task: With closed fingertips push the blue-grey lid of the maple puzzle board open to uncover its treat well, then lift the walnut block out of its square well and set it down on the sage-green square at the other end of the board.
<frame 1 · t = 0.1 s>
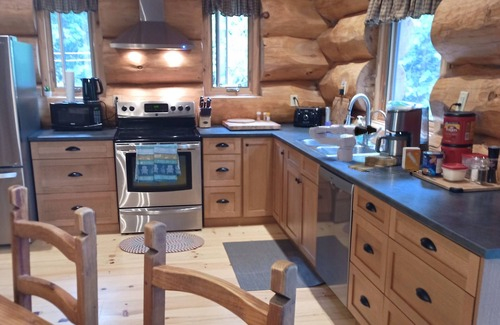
hand: (371, 131, 253), 22 cm above the countertop, tool horizontal, fingers open, 7 cm apart
puzzle board: (372, 167, 259), on the countertop
lid: (381, 155, 261), point 6 cm above the countertop, slide at 0.0 cm
walnut block: (369, 168, 258), resting in puzzle board
small box: (410, 171, 250), on the countertop
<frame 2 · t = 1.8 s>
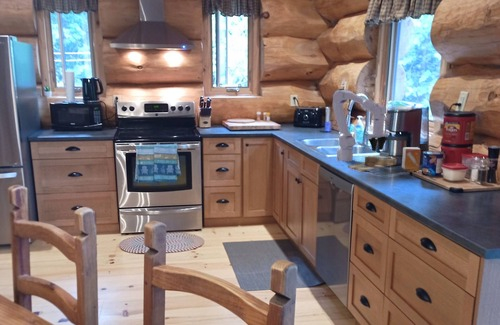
hand: (377, 150, 259), 10 cm above the countertop, tool pointing down, fingers open, 5 cm apart
nothing on the countertop moved.
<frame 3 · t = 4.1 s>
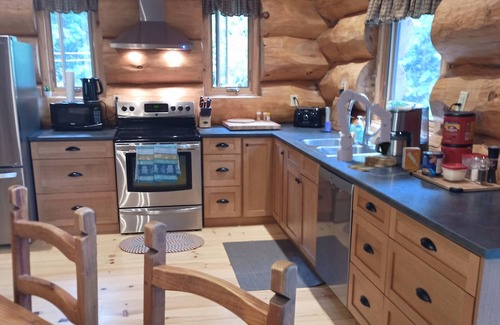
hand: (384, 155, 262), 6 cm above the countertop, tool pointing down, fingers closed
lid: (383, 155, 262), point 6 cm above the countertop, slide at 1.5 cm, touching gripper
everything else where it was.
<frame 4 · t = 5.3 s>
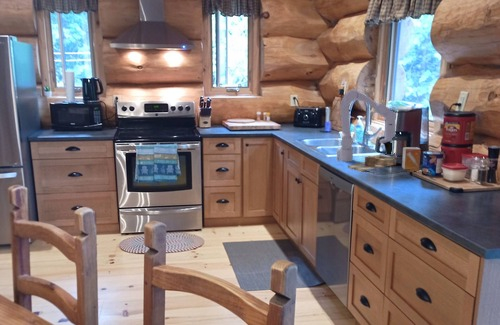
hand: (388, 154, 264), 6 cm above the countertop, tool pointing down, fingers closed
lid: (388, 154, 264), point 6 cm above the countertop, slide at 5.5 cm, touching gripper
everything else where it was.
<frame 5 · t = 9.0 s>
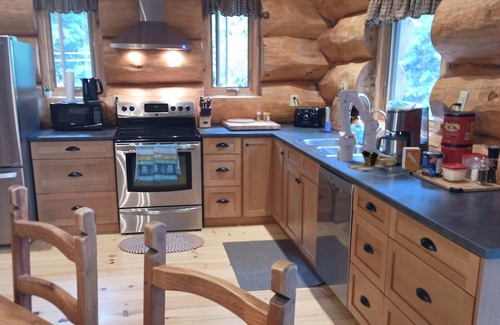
hand: (369, 164, 257), 2 cm above the countertop, tool pointing down, fingers closed on walnut block, 4 cm apart
lid: (388, 154, 264), point 6 cm above the countertop, slide at 5.5 cm
walnut block: (369, 168, 258), resting in puzzle board, touching gripper
everything else where it was.
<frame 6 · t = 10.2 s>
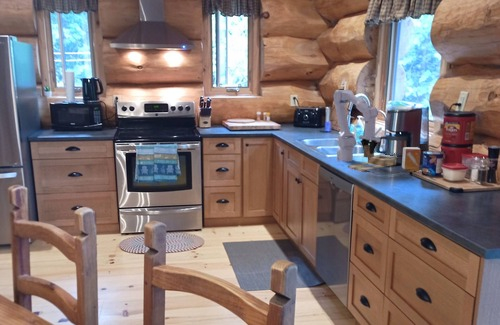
hand: (368, 152, 255), 9 cm above the countertop, tool pointing down, fingers closed on walnut block, 4 cm apart
walnut block: (368, 156, 256), point 7 cm above the countertop, touching gripper
everything else where it was.
when the fingers open (5 cm above the countertop, at t = 11.7 s): walnut block stays where it is, resting on puzzle board.
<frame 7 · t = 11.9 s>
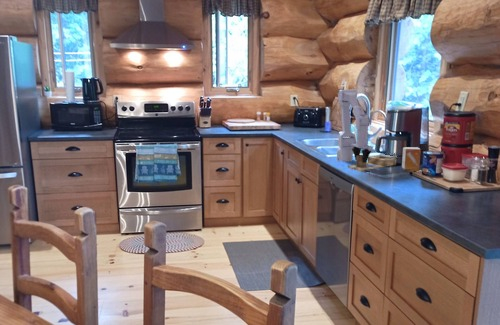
hand: (361, 161, 253), 5 cm above the countertop, tool pointing down, fingers open, 5 cm apart
walnut block: (361, 166, 254), point 2 cm above the countertop, touching puzzle board
everything else where it was.
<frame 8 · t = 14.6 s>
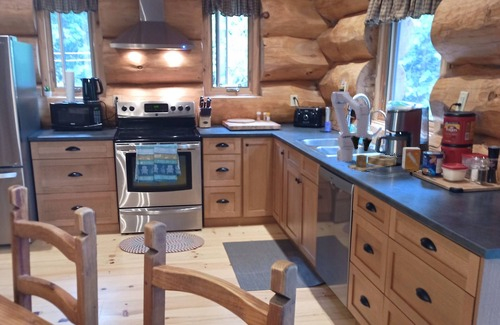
hand: (360, 150, 257), 10 cm above the countertop, tool pointing down, fingers open, 7 cm apart
nothing on the countertop moved.
at the end: lid slide at 5.5 cm; walnut block 0.3 cm from the target spot on the puzzle board, point 1.6 cm above the puzzle board's base; walnut block tilted 0° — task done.
